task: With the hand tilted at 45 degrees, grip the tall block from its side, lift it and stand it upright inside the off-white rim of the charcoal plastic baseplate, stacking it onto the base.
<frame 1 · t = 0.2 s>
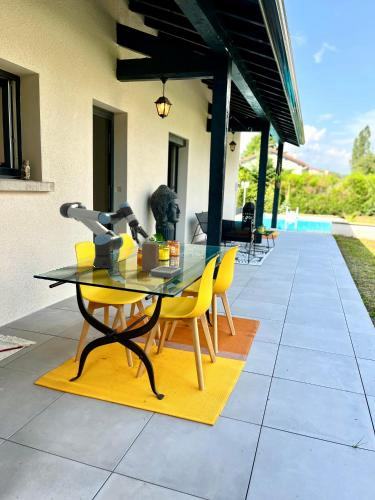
hand: (145, 246, 275), 16 cm above the table, tool tilted 35°, fingers open, 13 cm apart
block: (150, 271, 268), on the table
baseplate: (166, 274, 257), on the table
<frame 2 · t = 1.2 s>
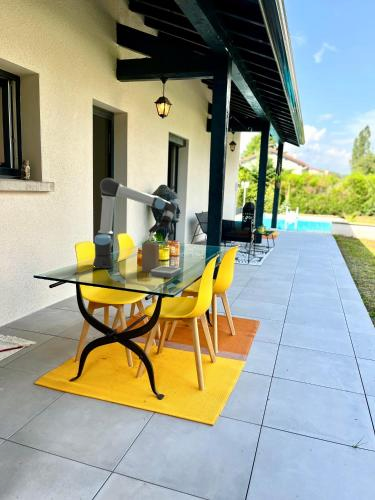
hand: (157, 240, 273), 20 cm above the table, tool tilted 45°, fingers open, 13 cm apart
nothing on the table moved.
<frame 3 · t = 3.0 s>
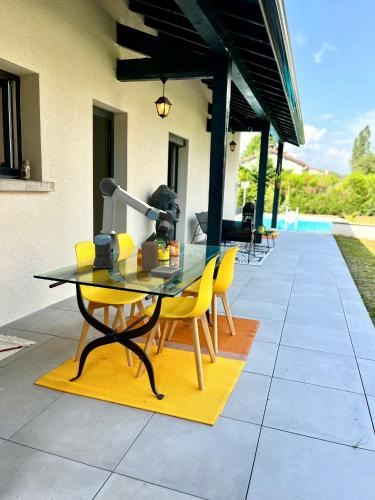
hand: (154, 251, 268), 13 cm above the table, tool tilted 45°, fingers open, 13 cm apart
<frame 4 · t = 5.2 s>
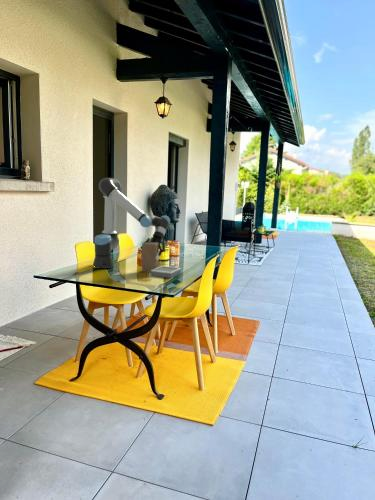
hand: (148, 258, 264), 9 cm above the table, tool tilted 45°, fingers closed on block, 12 cm apart
block: (150, 271, 267), on the table, touching gripper
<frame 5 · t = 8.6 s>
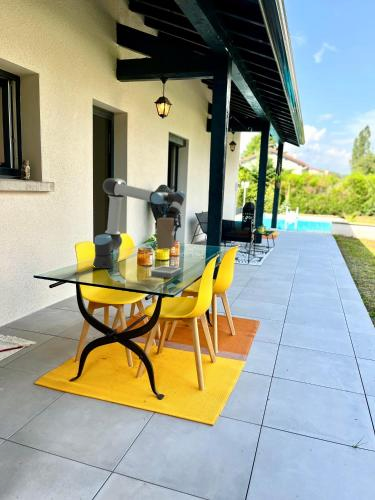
hand: (164, 234, 251), 28 cm above the table, tool tilted 45°, fingers closed on block, 12 cm apart
block: (165, 248, 254), point 18 cm above the table, touching gripper
when the fingers open (14 cm above the table, at t = 12.2 s): block drops 2 cm, resting on baseplate.
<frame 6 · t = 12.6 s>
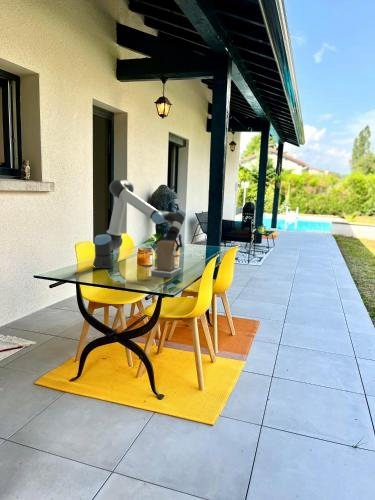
hand: (164, 253, 252), 15 cm above the table, tool tilted 45°, fingers open, 13 cm apart
block: (165, 270, 257), point 3 cm above the table, touching baseplate
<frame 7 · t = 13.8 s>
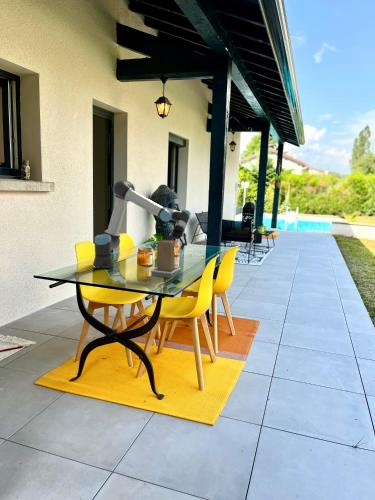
hand: (169, 252, 259), 15 cm above the table, tool tilted 45°, fingers open, 13 cm apart
nothing on the table moved.
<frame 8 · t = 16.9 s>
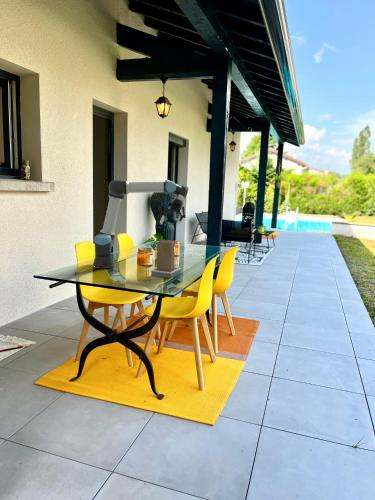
hand: (169, 223, 270), 33 cm above the table, tool tilted 45°, fingers open, 13 cm apart
nothing on the table moved.
at the end: block 0.3 cm off-centre on the baseplate, point 2.8 cm above the baseplate's base; block tilted 0°; the gripper is holding nothing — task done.
